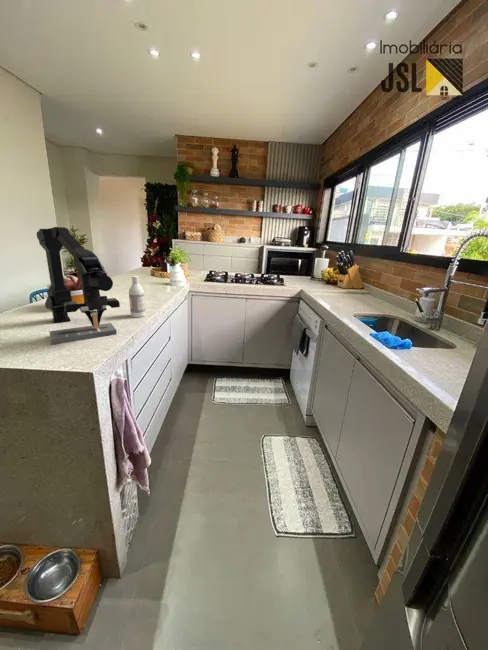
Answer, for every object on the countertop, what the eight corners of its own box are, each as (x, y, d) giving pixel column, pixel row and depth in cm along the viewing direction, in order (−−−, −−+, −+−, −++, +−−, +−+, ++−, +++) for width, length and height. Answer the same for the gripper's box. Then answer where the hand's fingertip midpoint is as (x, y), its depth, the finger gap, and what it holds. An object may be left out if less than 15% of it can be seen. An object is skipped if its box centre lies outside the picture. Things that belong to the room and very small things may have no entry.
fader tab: (92, 326, 109) (90, 310, 107) (97, 326, 110) (95, 310, 108) (93, 329, 106) (91, 312, 104) (99, 328, 107) (97, 312, 105)
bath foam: (129, 314, 135) (126, 275, 129) (143, 313, 139) (141, 275, 132) (132, 318, 130) (128, 277, 123) (146, 316, 133) (144, 277, 127)
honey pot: (181, 282, 228) (180, 261, 222) (188, 285, 219) (188, 263, 213) (167, 284, 220) (166, 261, 214) (174, 286, 211) (173, 263, 205)
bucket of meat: (44, 310, 135) (36, 270, 128) (67, 302, 150) (61, 267, 144) (81, 313, 134) (75, 273, 127) (100, 305, 149) (96, 269, 143)
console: (50, 336, 104) (49, 330, 103) (111, 327, 116) (110, 322, 116) (51, 344, 96) (50, 339, 95) (116, 334, 109) (116, 329, 108)
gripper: (63, 293, 91) (70, 335, 96) (121, 289, 102) (124, 327, 107) (61, 287, 100) (67, 326, 105) (114, 284, 110) (118, 320, 115)
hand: (95, 325), depth 108 cm, fingers closed on fader tab, 2 cm apart
